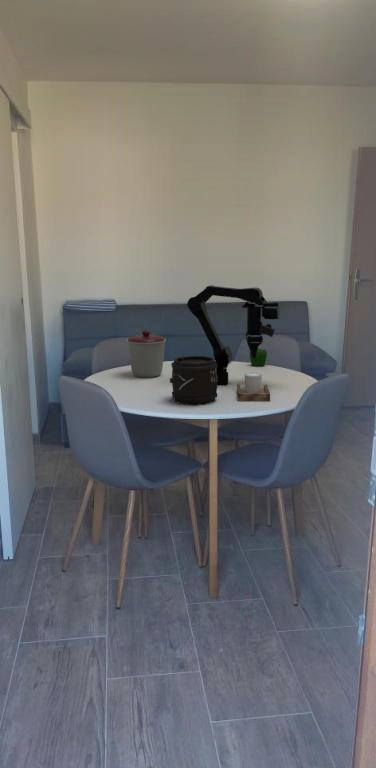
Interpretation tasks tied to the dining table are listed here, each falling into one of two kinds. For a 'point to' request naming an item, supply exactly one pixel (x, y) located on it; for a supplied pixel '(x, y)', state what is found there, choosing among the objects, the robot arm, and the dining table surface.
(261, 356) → the bell pepper
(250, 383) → the shot glass
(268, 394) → the tray
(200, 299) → the robot arm
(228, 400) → the dining table surface
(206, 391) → the black ribbed pot
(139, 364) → the canister
